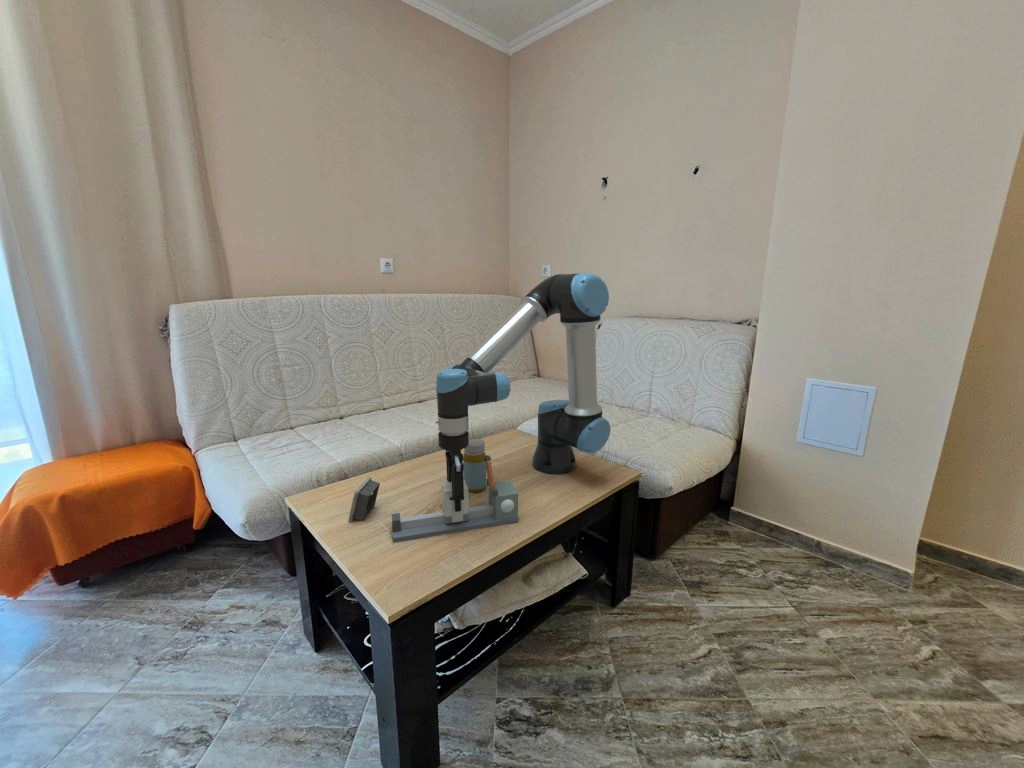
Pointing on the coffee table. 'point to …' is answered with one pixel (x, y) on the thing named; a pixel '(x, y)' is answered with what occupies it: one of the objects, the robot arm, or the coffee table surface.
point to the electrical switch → (364, 499)
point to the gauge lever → (489, 471)
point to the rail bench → (433, 524)
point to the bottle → (475, 465)
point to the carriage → (448, 503)
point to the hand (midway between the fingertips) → (455, 515)
